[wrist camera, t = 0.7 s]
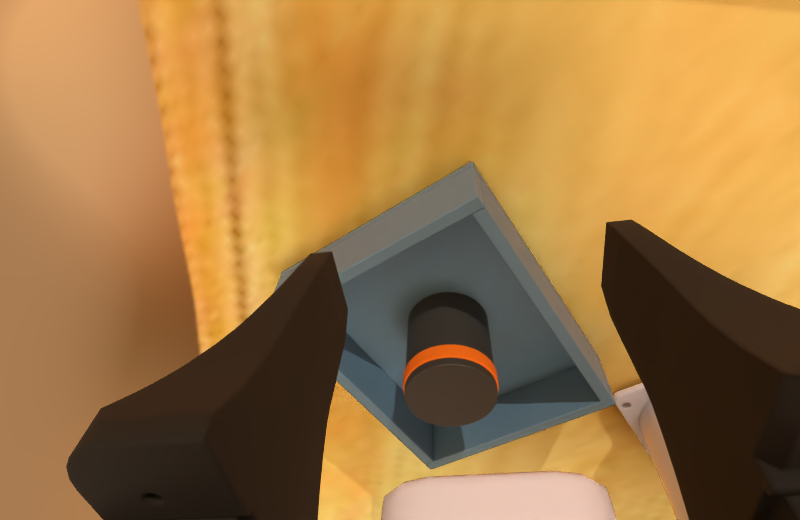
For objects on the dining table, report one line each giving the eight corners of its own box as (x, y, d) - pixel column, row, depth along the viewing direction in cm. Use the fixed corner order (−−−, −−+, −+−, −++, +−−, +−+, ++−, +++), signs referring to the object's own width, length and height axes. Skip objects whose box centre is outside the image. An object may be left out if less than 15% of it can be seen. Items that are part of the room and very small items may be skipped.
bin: (599, 357, 29) (616, 404, 26) (430, 423, 33) (430, 470, 30) (471, 160, 22) (477, 195, 20) (281, 271, 26) (264, 313, 24)
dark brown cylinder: (504, 332, 27) (517, 408, 23) (434, 362, 29) (435, 438, 25) (462, 277, 25) (468, 349, 21) (390, 312, 27) (383, 386, 23)
